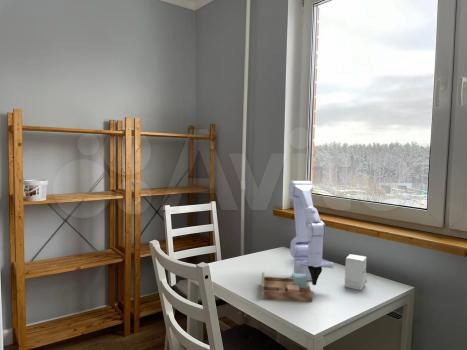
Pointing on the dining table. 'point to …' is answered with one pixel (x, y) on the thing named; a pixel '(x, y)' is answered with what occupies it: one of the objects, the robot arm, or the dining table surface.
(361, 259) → the supplement box
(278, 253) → the dining table surface
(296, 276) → the teal block
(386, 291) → the dining table surface
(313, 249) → the robot arm
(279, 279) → the brown wooden tray
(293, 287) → the clay block
